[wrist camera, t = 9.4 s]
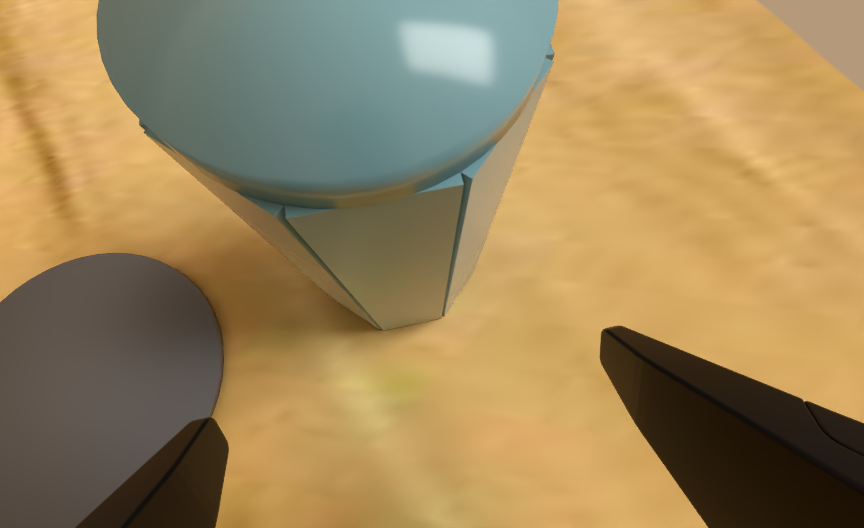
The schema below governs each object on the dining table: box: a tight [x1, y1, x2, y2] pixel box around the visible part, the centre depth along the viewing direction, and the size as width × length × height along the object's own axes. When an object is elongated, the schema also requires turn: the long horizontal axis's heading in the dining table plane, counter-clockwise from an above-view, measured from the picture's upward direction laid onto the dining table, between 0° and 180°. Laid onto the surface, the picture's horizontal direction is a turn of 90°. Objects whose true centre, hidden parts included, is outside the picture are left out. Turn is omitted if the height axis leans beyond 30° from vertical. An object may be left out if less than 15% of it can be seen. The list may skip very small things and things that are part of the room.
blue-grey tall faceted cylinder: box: [97, 0, 558, 331], centre depth 12 cm, size 7×7×13 cm
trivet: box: [0, 253, 224, 528], centre depth 16 cm, size 11×11×1 cm
